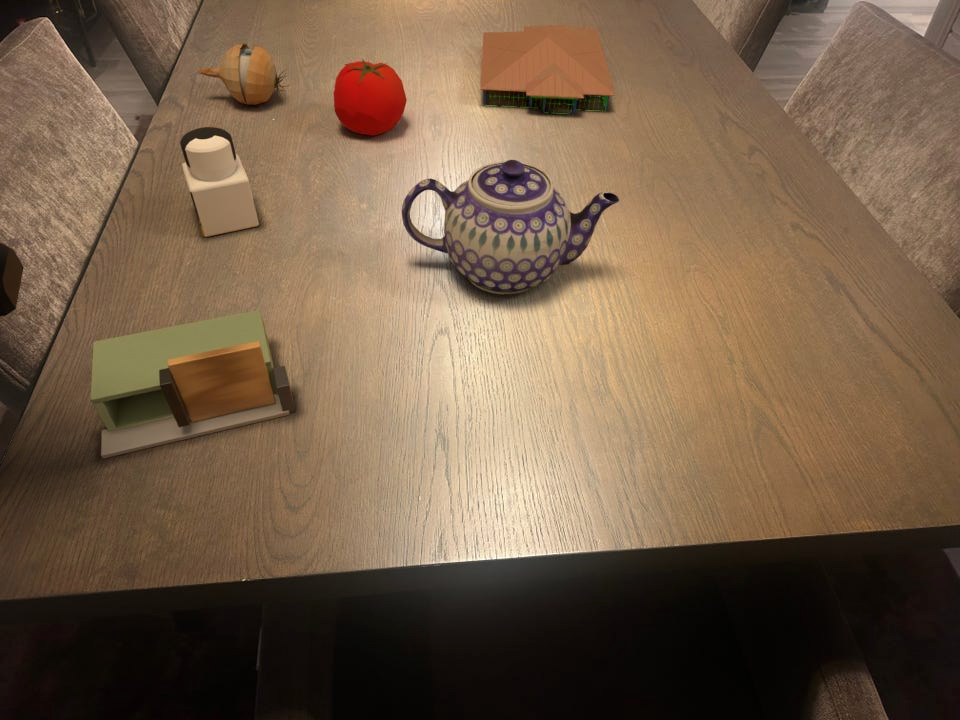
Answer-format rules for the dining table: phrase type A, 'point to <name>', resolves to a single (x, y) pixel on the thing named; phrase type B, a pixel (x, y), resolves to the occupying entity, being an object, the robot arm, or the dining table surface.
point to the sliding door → (216, 383)
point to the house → (546, 64)
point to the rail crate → (136, 386)
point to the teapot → (508, 226)
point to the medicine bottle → (217, 182)
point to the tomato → (369, 97)
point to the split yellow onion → (247, 74)
